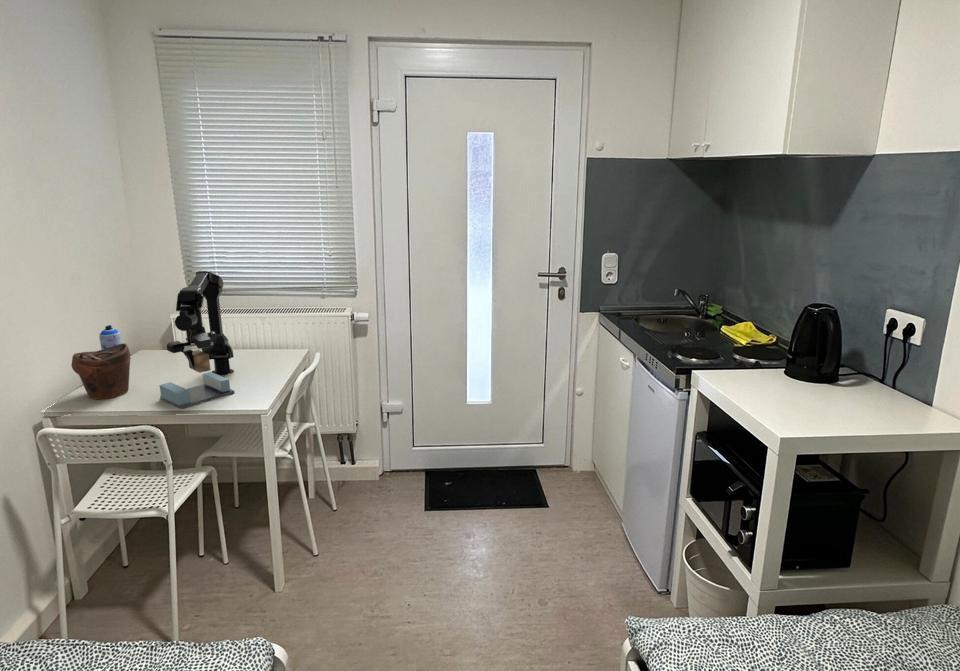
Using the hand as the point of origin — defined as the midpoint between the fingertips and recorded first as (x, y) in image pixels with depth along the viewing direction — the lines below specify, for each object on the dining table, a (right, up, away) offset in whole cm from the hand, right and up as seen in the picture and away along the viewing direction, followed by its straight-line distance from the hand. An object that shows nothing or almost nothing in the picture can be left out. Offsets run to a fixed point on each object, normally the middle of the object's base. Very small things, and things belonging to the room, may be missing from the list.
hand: (199, 365), depth 228 cm
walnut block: (0, -1, 0) cm, 1 cm away
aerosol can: (-47, -5, +29) cm, 56 cm away
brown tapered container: (-37, -11, +5) cm, 38 cm away
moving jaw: (+3, -8, +7) cm, 11 cm away
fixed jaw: (-6, -12, -4) cm, 14 cm away
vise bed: (-1, -11, +2) cm, 11 cm away
